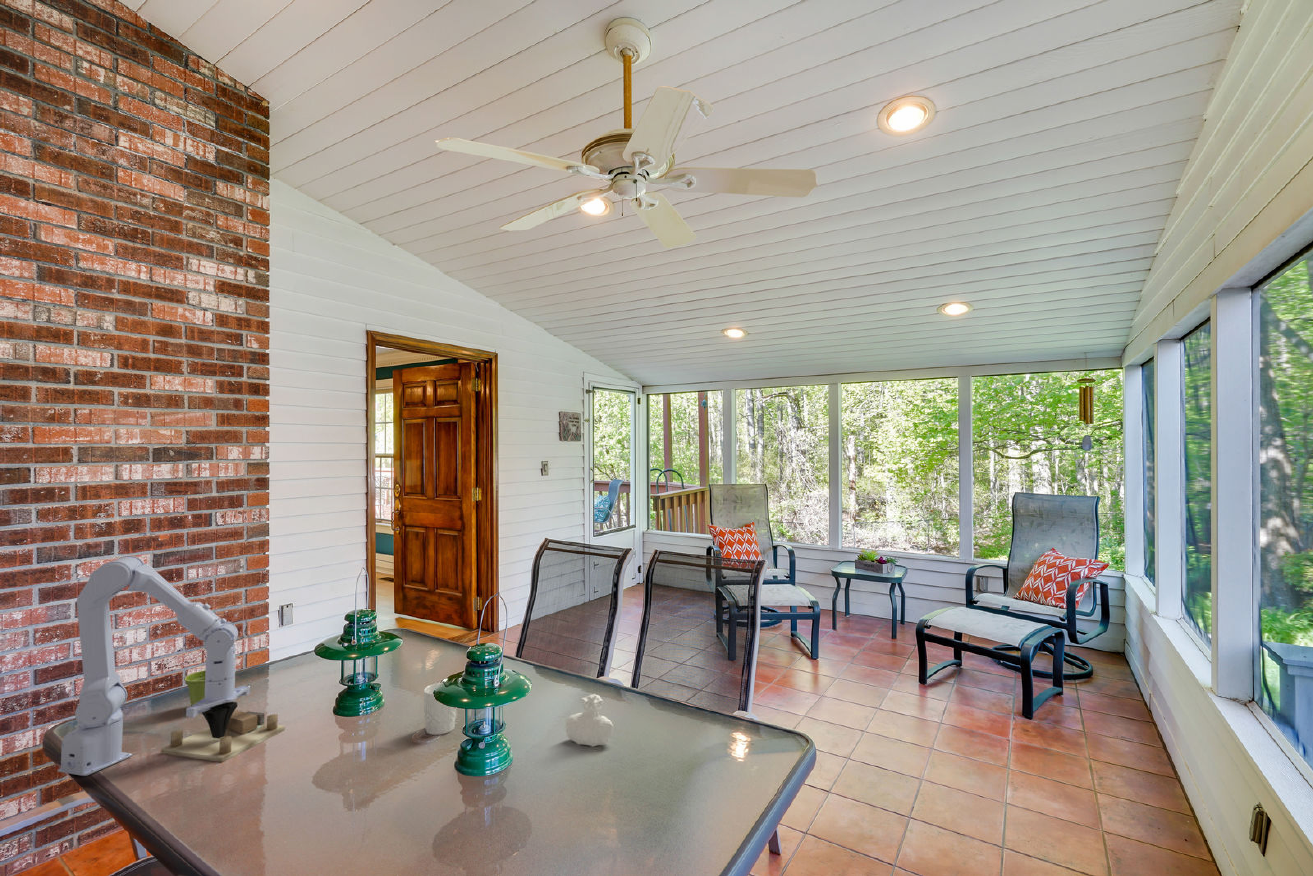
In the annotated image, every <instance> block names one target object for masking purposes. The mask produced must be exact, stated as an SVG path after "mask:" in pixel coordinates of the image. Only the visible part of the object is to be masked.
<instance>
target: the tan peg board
mask: <svg viewBox="0 0 1313 876" xmlns="http://www.w3.org/2000/svg"><path fill="white" fill-rule="evenodd" d="M244 712H245V713H249V714H253V715H257V728H256V729H254V730H251V731H249V732H246V733H244V734H241V733H237V732H234V731H230V730H227V729H226V732H225V735H224V736H223V737H221V738H212V734H211V730H210V727H209V726H208V727H207V728H204V729H202V730H201V731H198V732H196V733H193V734H192V735H189V736H187V737H183V736H184V731H183V730H182V729H177V730H174V731H171V732H170V740H169V741H170V744H169V745H167V746H164V747H162V748H160V754H161V755H170V756H176V757H177V756H178V757H184V758H190V759H196V760H197V759H198V760H204V761H205V760H206V761H212V762H219V763H223V762H225V761H227V760H229V759H231V758H234V757H236V756H237V755H239V754H241V753H243V752H245V751H247V750H249V749H251V748H253V747H255V746H257V745H259V744H260V743H263V742H264V741H266V740H268V739H270V738H272V737H274V736H276V735H278V734H279V733H281V732H284V731H285V730H286V725H283V724H278V717H279V715H278V714H277V713H274V714H270V715H267V716H266V723H265V713H264V712H257V711H256V712H255V711H244Z"/></svg>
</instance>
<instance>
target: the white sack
mask: <svg viewBox="0 0 1313 876" xmlns="http://www.w3.org/2000/svg"><path fill="white" fill-rule="evenodd" d="M580 700H581V704H583V705H582V708H583V709H584V711H585V712H584V713H583V712H578V713H575V714H571V715H570V716H569V717H567V719H566V722H565V733H566V737H567V739H568V740H570V741H572V742H575V743H576V744H577V745H582V746H583V745H585V746H590V747H593V748H594V747H596V746H597V747H598V746H604V745H607V744H608V742H609V740H610V738H611V735H612V733H613V730H614V725H613V723H612V721H611V720H610V719H608V717H606V716H604V715H600V712H599V709H600V710H601V709H603V707H602V705H603V704H604V702H605V701H604V700H603V699H602V698H601V696H600V695H598V694H596V693H593V694H589V695H587V696H585V697H580Z"/></svg>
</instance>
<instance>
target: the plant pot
mask: <svg viewBox="0 0 1313 876" xmlns="http://www.w3.org/2000/svg"><path fill="white" fill-rule="evenodd" d="M205 672H206V669H205V670H200V671H195V672H193V673H190V674H188V675H186V676H185V677H184V681H185V682H186V685H187V687H188V693H189V694H188V695H189V701H190V706H192V705H194V704H196V703H197V702H199V701H200V700H202V699H204V698H205Z"/></svg>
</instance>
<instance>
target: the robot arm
mask: <svg viewBox="0 0 1313 876" xmlns="http://www.w3.org/2000/svg"><path fill="white" fill-rule="evenodd" d="M128 586H129V587H128ZM126 587H128V588H127V589H126V591H127V592H138V593H139V592H140V593H141V592H143V593H147V594H148V595H150V596H151V597H153V598H154V599H156V600H157V601H158V602H159V603H161V604H162V605H164V606H165V607H167V608H168V609H170V610H171V611H173V612H174V613H175V614H176V622H177V623H178V624H179V625H180V626H182V627H183V628H184V629H185V630H187V631H188V632H189V633H190V634H192V635H193V636H194V637H196V639H198V640H201V641H203V642H202V647H203V648H204V650H205V651H206V659H205V670H206V672H205V698H204V699H202V700H200V701H199V702H197V703H196V704H194V705H192V706H191V705H190V706H188V707H186V709H185V711H186V712H185V717H186V718H195V717H197V716H198V715H200V714H201V715H202V716H203V717H204V719H205V720H206V723H207V724H208V728H209V727H210V730H211V734H212V738H221V737H223V736H224V735H225V732H226V729H227V725H228V723H229V720H230V718H231V716H232V714H233V712H234V711H235V710H236V709H237V707H238V702H237V701H236V700H237V699H238V698H240V697H242V696H249V695H250V692H251V691H250V690H251V686H250V685H242V686H241V685H240V686H237V687H235V686H236V660H237V659H236V644H235V642H236V641H237V639H238V636H239V630H238V628H237V626H236V625H235V624H234V622H231V621H227V619H226V618H224V617H223V618H221V617H219V615H217V614H216V613H215V612H214V611H212V609H210V608H211V605H210V604H208V602H206V603H205V604H203V603H202V601H195V602H194V601H190V600H189V599H188V598H186V597H185V596H184V595H183V594H182V593H181V592H180V591H178V590H177V588H175V587H174V586H173V585H171V583H170V582H169V581H167V580H166V579H165V578H164V577H163V576H162V575H160V573H159V572H158V571H156V570H155V568H153V566H151V565H149V564H147V563H144V561H143V559H141V558H140V557H137V556H134V555H125V556H121V557H119V558H117V559H115V560H113V561H108V562H106V563H103V564H102V565H101V566H99V567H97V569H95V570H94V571H93V572H91V573H90V574H89V578H88V579H87V582H86V583H85V585H84V587H83V588H82V590H81V591H80V593H79V594H78V596H77V597H76V609H77V621H78V630H79V632H78V633H79V641H80V643H79V644H80V650H81V663H82V664H81V665H82V674H83V683H82V686H81V689H80V691H79V695H78V698H79V701H78V705H77V707H76V709H75V711H74V716H75V719H76V721H77V723H78V726H77V727H76V728H75V729H73V730H72V731H69V732H68V733H66V734H65V735H64V736H63V738H62V741H61V750H60V751H61V752H60V753H61V756H60V768H59V769H57V772H58V773H63V774H68V775H69V774H70V775H75V776H76V775H77V776H81V777H87V776H89V775H91V774H93V773H97V772H98V771H100V770H103V769H106V768H108V767H110V766H112V765H114V764H116V763H119V762H121V761H124V760H126V759H127V758H128V759H129V758H130V757H132V756H133V753H130V752H124V751H122V750H123V734H124V733H123V730H124V725H123V724H124V713H123V711H122V710H121V709H122V707H123V706H124V705H125V703H126V702H127V699H128V692H127V691H128V690H127V689H126V687H124V685H123V683H122V679H121V675H119V674H118V673H117V671H116V662H115V652H114V642H113V630H112V620H111V610H110V608H111V607H110V602H111V600H113V599H114V598H115V597H116V596H117V595H118V594H119V593H120V592H121V591H122V590H123V589H125V588H126Z"/></svg>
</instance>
